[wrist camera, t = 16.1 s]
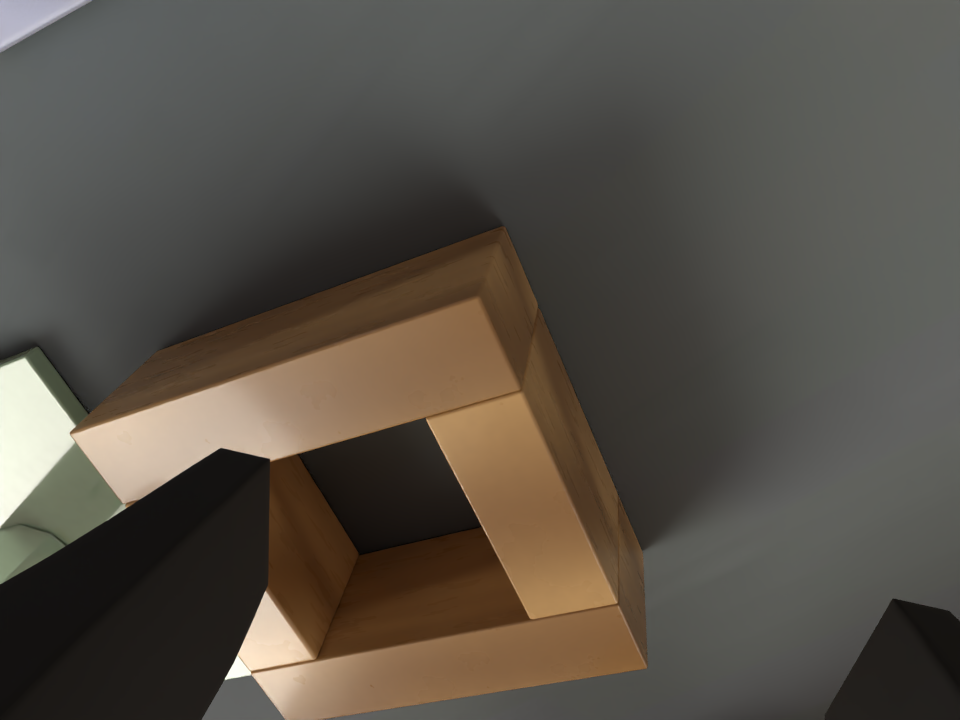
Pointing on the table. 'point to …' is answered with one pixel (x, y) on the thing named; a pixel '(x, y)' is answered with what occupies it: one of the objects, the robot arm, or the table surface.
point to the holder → (469, 451)
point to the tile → (50, 458)
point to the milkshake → (24, 549)
